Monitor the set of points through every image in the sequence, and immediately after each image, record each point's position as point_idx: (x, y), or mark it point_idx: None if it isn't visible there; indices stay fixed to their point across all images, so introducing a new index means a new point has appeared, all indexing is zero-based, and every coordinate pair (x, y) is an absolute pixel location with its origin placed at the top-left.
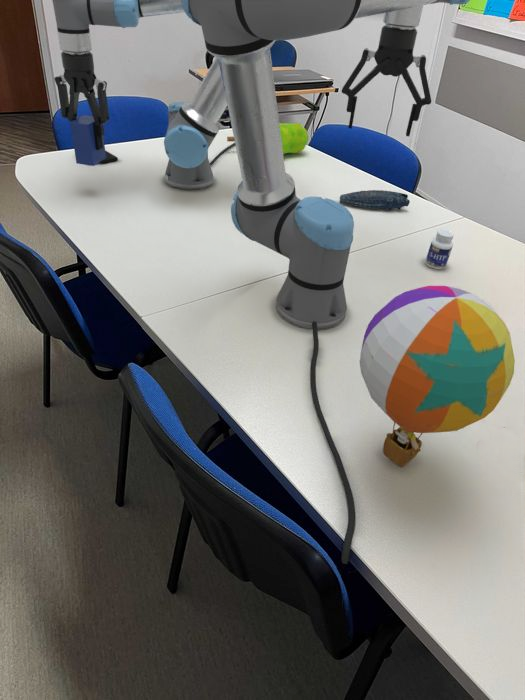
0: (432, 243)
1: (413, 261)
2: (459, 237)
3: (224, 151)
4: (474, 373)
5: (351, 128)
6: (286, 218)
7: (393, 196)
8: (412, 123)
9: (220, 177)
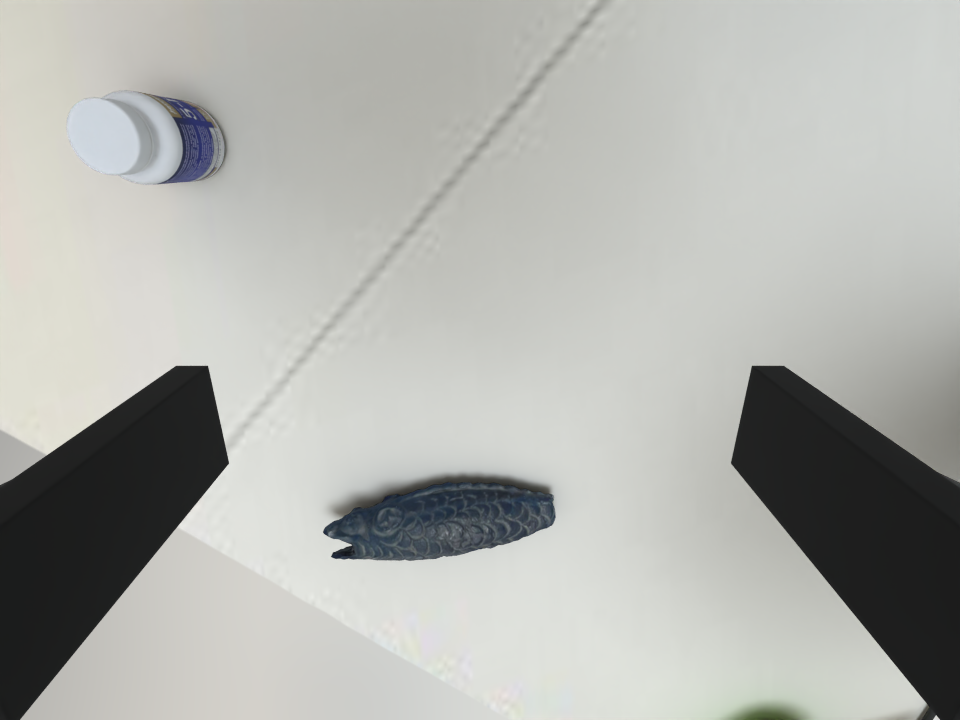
0: (172, 121)
1: (267, 144)
2: None
3: (926, 714)
4: None
5: (751, 369)
6: None
7: (377, 530)
8: (88, 427)
9: None
